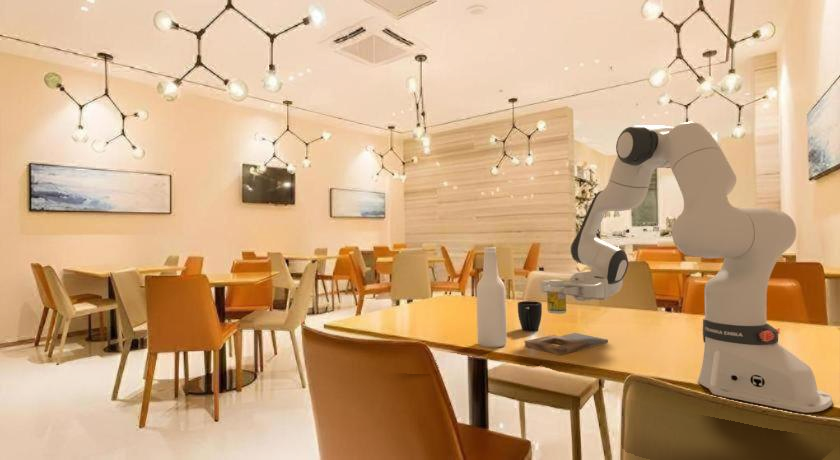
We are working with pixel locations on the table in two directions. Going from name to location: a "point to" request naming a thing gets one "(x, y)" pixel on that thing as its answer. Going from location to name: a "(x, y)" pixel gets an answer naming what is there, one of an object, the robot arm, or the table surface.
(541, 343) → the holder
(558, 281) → the supplement bottle
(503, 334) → the alcohol
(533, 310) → the mug
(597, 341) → the mat
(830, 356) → the table surface
